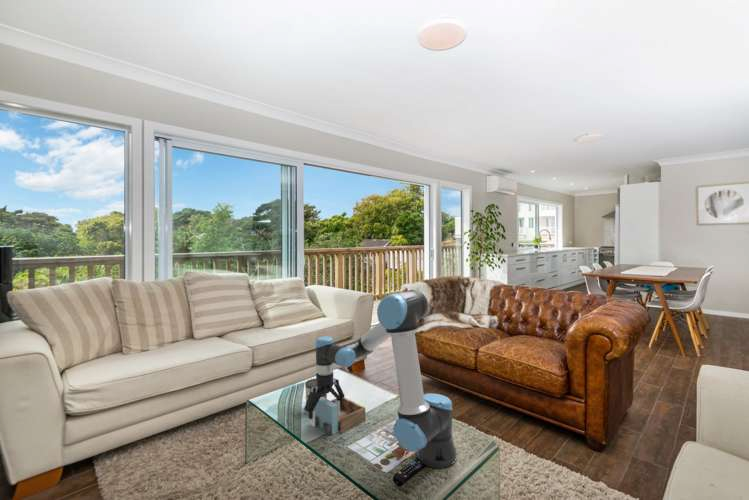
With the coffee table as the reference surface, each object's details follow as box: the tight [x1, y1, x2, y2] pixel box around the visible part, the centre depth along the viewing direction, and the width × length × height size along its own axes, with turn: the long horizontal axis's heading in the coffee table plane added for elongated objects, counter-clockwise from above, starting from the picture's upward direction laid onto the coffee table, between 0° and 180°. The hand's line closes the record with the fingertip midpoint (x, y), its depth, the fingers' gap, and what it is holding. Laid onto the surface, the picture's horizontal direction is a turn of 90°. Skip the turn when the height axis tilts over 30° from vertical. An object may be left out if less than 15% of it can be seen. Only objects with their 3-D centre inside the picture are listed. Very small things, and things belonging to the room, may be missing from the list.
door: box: [314, 397, 339, 436], centre depth 161 cm, size 14×3×12 cm, turn 44°
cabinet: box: [314, 396, 366, 436], centre depth 165 cm, size 17×20×6 cm
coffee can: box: [304, 378, 328, 415], centre depth 176 cm, size 10×10×14 cm
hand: (325, 419), depth 161 cm, fingers open, 13 cm apart
